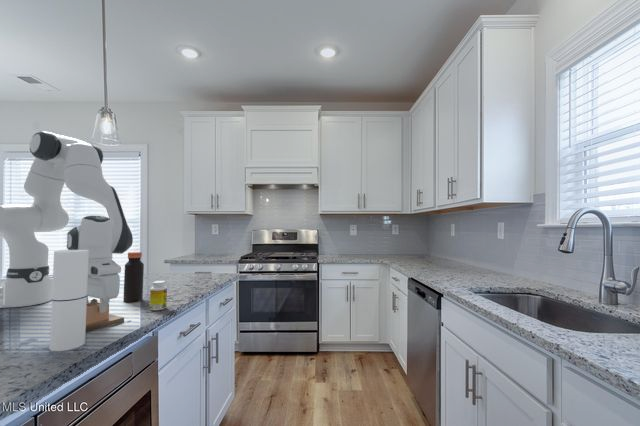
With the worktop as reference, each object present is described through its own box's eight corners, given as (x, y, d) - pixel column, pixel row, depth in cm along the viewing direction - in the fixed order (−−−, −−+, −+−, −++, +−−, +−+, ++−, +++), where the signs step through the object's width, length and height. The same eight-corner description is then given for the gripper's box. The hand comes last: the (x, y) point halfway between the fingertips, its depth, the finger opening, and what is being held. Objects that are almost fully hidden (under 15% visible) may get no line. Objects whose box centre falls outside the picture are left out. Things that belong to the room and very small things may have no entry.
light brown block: (74, 321, 93) (75, 305, 93) (97, 315, 99) (97, 300, 99) (86, 324, 90) (86, 308, 90) (108, 318, 96) (109, 303, 96)
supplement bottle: (165, 310, 111) (166, 282, 112) (148, 311, 109) (149, 283, 110) (167, 306, 116) (168, 279, 117) (151, 307, 115) (152, 280, 115)
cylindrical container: (55, 353, 74) (60, 252, 75) (45, 347, 78) (49, 250, 79) (89, 344, 80) (93, 250, 81) (78, 338, 84) (82, 249, 85)
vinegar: (131, 298, 128) (133, 251, 129) (146, 298, 127) (147, 251, 128) (119, 302, 121) (121, 252, 122) (134, 302, 120) (136, 253, 121)
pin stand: (60, 327, 92) (61, 300, 92) (102, 316, 103) (103, 292, 103) (81, 334, 87) (82, 306, 87) (123, 322, 98) (124, 297, 98)
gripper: (66, 265, 97) (64, 308, 97) (102, 270, 88) (100, 317, 88) (88, 263, 103) (86, 303, 102) (124, 267, 94) (123, 311, 93)
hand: (93, 310), depth 95 cm, fingers open, 8 cm apart
